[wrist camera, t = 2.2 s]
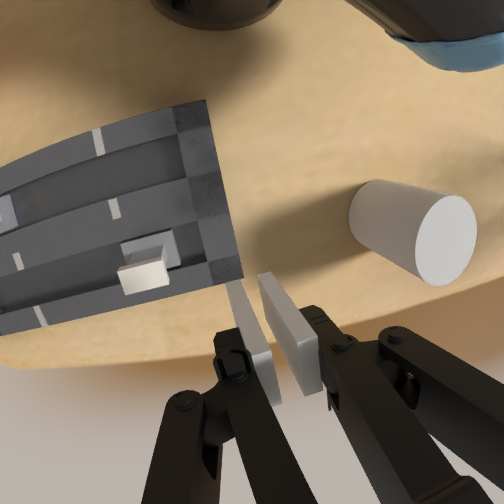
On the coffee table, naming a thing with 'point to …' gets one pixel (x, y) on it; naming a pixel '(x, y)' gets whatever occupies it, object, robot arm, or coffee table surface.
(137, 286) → the cream fader
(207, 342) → the coffee table surface
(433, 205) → the grey solid cylinder
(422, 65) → the coffee table surface
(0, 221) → the orange fader
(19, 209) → the console board
